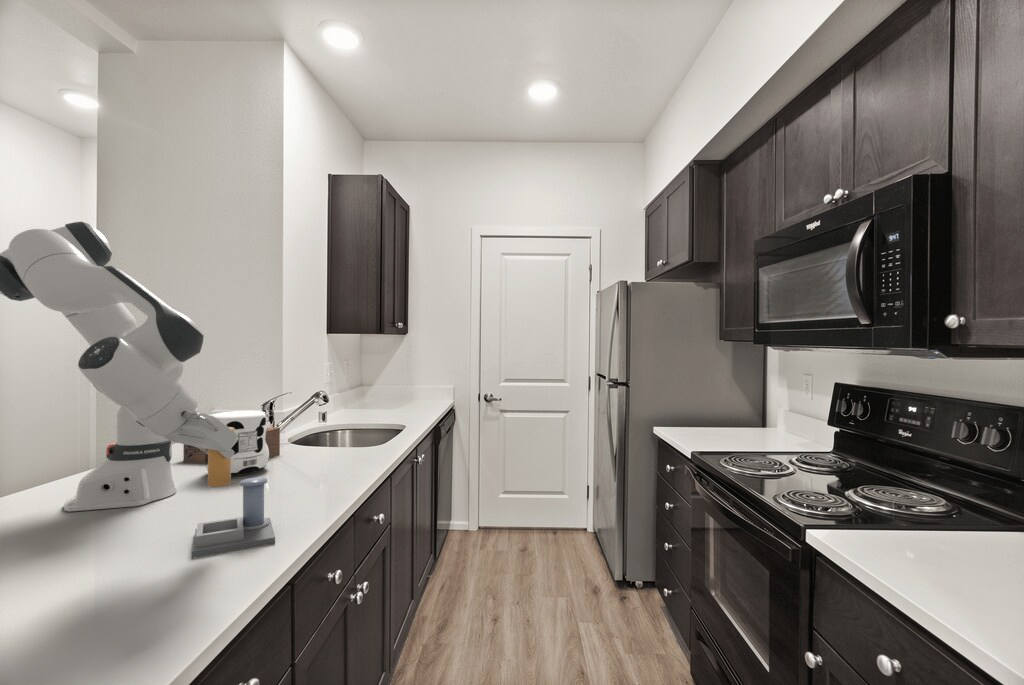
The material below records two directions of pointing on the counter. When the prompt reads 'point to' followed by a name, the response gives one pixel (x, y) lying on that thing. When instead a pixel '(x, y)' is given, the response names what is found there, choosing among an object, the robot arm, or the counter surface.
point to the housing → (237, 525)
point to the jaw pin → (218, 468)
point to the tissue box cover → (271, 438)
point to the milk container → (246, 441)
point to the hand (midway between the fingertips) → (222, 454)
